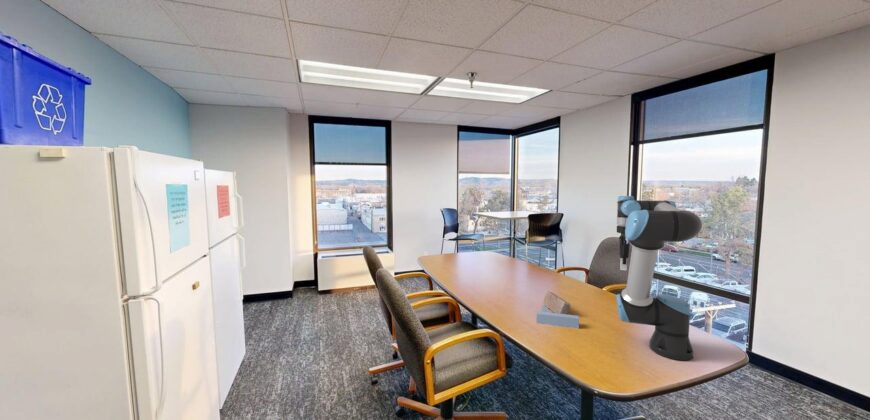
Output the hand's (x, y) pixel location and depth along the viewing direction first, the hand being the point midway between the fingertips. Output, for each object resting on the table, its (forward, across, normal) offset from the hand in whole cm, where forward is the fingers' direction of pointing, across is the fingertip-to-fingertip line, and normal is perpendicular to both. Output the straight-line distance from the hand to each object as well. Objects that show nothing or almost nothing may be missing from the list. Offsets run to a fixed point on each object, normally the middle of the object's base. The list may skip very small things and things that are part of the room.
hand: (623, 269), depth 171 cm
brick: (+27, -2, +33) cm, 42 cm away
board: (+26, -18, +33) cm, 46 cm away
